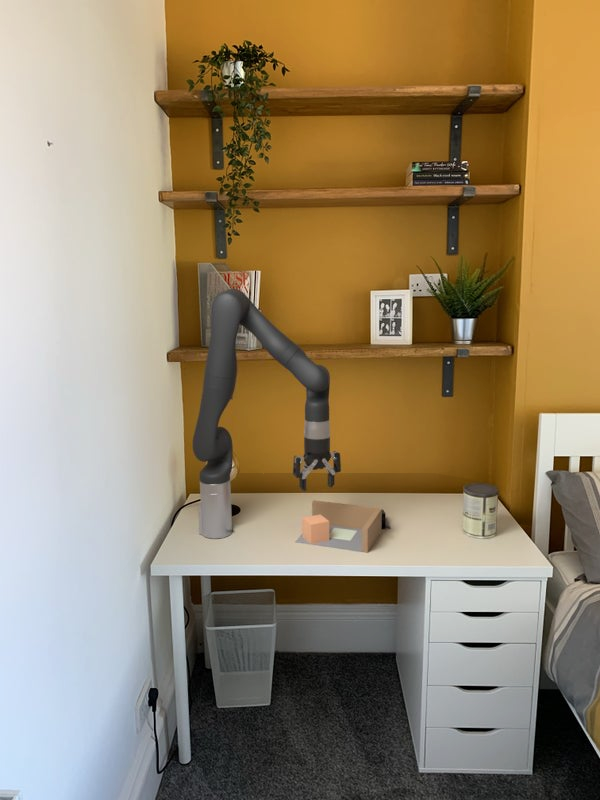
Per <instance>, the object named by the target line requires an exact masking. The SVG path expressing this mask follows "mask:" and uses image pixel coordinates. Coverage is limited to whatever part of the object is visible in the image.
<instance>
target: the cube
mask: <svg viewBox="0 0 600 800" xmlns="http://www.w3.org/2000/svg"><path fill="white" fill-rule="evenodd" d="M301 522H302V523H301V524H302V525H301V526H302V528H301V529H302V530H301V531H302V534H301V535H302V537H304V538H305V539H306V540H307V541H308V542H309V543H310V544H314V543H319V542H324V541H329V521H328V520H327V519H326V518H324V517H323V516H322V515H314V516H312V515H309V516H304V517H302V521H301ZM310 544H309V545H310Z"/></svg>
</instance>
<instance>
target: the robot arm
mask: <svg viewBox="0 0 600 800" xmlns="http://www.w3.org/2000/svg"><path fill="white" fill-rule="evenodd" d="M210 311H211V312H210V313H211V314H210V315H211V317H210V339H209V340H210V341H209V344H208V345H209V346H208V350H207V356H206V363H205V368H204V374H203V375H204V376H203V383H202V384H203V385H202V393H201V399H200V403H199V404H200V405H199V410H198V414H197V415H198V417H197V420H196V425H195V429H194V433H193V437H192V451H193V455H194V456H195V458H196V459H197V460H198V461H200V462H203V463H204V462H206V464H205V465H204V467H202V469H201V470H200V471H199V493H200V495H199V497H200V503H199V504H198V505H197V510H198V531H199V535H201V536H202V537H205V538H208V539H214V540H215V539H223V538H226V537H229V536H230V535H231V534H232V533H233V522H232V521H233V520H232V518H233V517H232V495H231V494H232V493H231V492H232V491H231V490H232V489H231V474H232V473H231V472H233V471H232V470H233V453H234V452H233V450H234V449H233V439H232V435H231V434H230V432H229V430H228V429H226V427H223V426H219V423H220V419H221V417H222V414H223V413H224V411H225V409H226V408H227V406H228V404H229V402H230V401H231V399H232V397H233V395H234V392H235V388H236V382H237V376H238V359H237V352H236V351H237V349H236V346H237V345H236V342H237V336H238V331H239V327H240V326H242V327H243V328H245V330H248V331H249V332H250V333H251V334H252V336H254V337H255V338H256V339H257V341H259V343H260V345H262V347H263V348H264V349H265V351H267V353H268V354H269V355H270V356H271V357H272V358H273V359H274V360H276V361H277V362H278V363H279V364H280V365H281V366H282V367H284V368H285V369H286V370H288V371H289V372H290V373H291V374H292V375H293V376H294V377H295V379H296V380H297V381H299V383H300V384H301V385H302V386H304V388H305V391H306V394H305V395H306V396H305V397H306V399H305V402H304V403H305V404H304V425H303V451H304V452H303V453H304V454H303V456H298V455H294V456H293V465H292V466H293V467H292V474H293V476H294V477H295V478H297V479H298V480H299V482H298V483H299V485H298V486H299V489H301V491H302V492H306V491H307V479H306V478H307V476H308V475H309V474H310V473H311V472H312V471H316V470H323V469H324V468H325V470H326V472H328V473H327V486H328V487H329V488H333V487H334V485H335V477H336V476H335V475H336V474H337V473H340V472H341V471H342V469H341V468H342V465H341V463H342V461H341V453H340V452H338V451H336V450H333V451H332V452H331V425H330V424H331V423H330V401H329V398H330V388H331V387H330V384H331V377H330V376H331V375H330V372H329V370H328V369H327V368H326V367H325V366H324V365H321V364H316V363H315V362H314V361H313V360H312V359H310V357H308V356H307V354H306V352H305V351H304V350H303V349H302V348H300V346H299V345H298V344H296V343H295V342H294V341H293V340H291V339H290V338H289V337H288V336H286V335H285V334H284V333H283V332H282V331H281V330H280V329H279V328H277V327H276V325H274V324H273V323H272V322H271V321H270V320H269V319H268V318H267V317H266V316H265V315H264V314H263V313H262V312H261V311H260V310H259V309H258V307H256V305H255V304H254V303H253V301H252V300H251V299H250V298H249V297H248V296H247V295H246V294H245V293H244V291H241V290H240V289H237V288H228V289H227V290H224V291H221V292H219V293H218V294H217V295H216V296H215V297H214V299H213V300H212V303H211V309H210ZM331 460H332V461H333V462H332V463H333V466H332V465H331V464H330V463H329V461H331ZM303 462H304V465H303V466H302V463H303ZM301 466H302V468H301Z"/></svg>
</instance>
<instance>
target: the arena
mask: <svg viewBox="0 0 600 800" xmlns="http://www.w3.org/2000/svg"><path fill="white" fill-rule="evenodd" d="M382 509H383V508H381V507H373V506H367V505H366V506H364V505H355V504H348V503H341V502H331V501H325V500H324V501H323V500H312V501H311V516H314V515H322V516H323V517H324V518H326V519H327V520H328V521H329V541H324V542H319V543H314V544H310V543H309V542H308V541H307V540H306V539H305V538H304V537H302V534H301V535H299V537H297V539H296V540H295V541H294V543H297V544H303V545H304V544H305V545H311V546H318V547H324V548H331V549H339V550H345V551H350V552H358V553H366V554H368V553H369V551H370V550H371V548H372V546H373V544H374V543H375V541H376V540H377V538H378V537H379V535H380V534H381V533H382V530H383V529H382Z"/></svg>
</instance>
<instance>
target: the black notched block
mask: <svg viewBox="0 0 600 800" xmlns="http://www.w3.org/2000/svg"><path fill="white" fill-rule="evenodd" d="M386 514H387V513H386V512H385V510H384V509H383V508H382V530H392V527H391V526H389V525H390V524H389V522H388V520H387V517H386Z"/></svg>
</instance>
